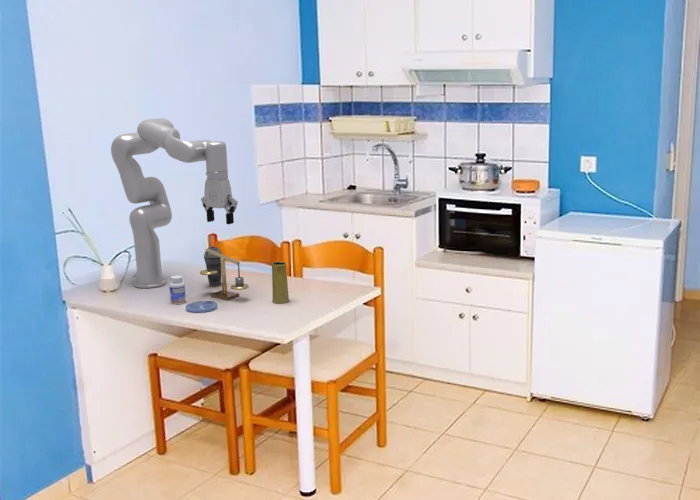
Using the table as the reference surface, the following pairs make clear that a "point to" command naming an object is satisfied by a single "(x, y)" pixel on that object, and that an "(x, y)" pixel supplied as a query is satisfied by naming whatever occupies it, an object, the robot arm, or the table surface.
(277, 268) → the vase
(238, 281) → the balance
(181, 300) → the pill bottle
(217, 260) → the beverage cup
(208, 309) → the dish
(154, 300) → the table surface
